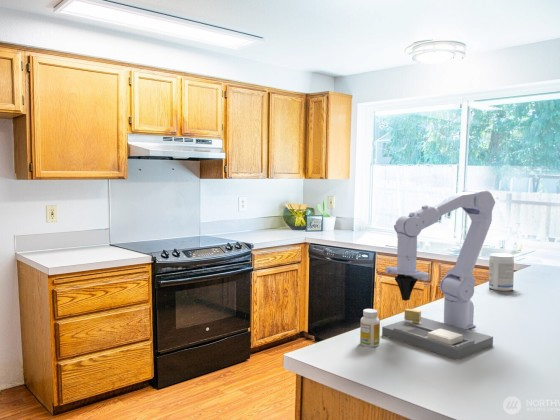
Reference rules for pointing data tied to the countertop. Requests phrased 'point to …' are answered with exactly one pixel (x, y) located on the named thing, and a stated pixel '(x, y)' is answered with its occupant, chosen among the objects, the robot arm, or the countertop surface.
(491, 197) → the robot arm
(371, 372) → the countertop surface
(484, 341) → the grey slotted tray
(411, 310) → the gold metal block
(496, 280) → the supplement tub
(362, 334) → the supplement bottle
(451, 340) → the cover
